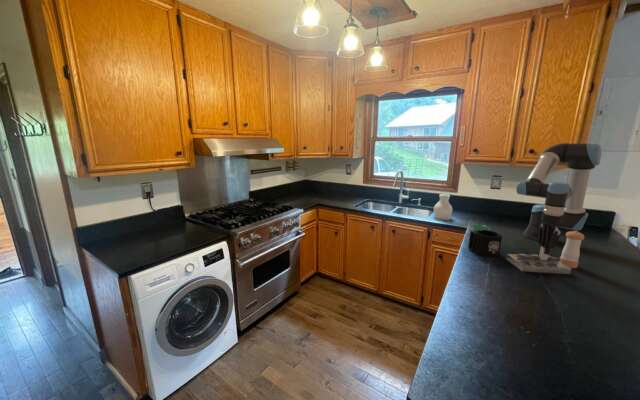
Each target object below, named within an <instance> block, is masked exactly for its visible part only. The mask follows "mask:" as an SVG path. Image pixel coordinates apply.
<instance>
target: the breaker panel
mask: <svg viewBox="0 0 640 400" xmlns="http://www.w3.org/2000/svg"><path fill="white" fill-rule="evenodd" d="M517 254H518V253H516V254H515V253H507V254H506V258H505V259H506V261H508V262H510V264H512V265H513V266H515V267H516V268H517V269H519V270H520V271H521V272H528V273H529V272H531V273H544V274H545V273H546V274H562V275H571V273H572V268H569V267H568V266H566V265H564V264H563V263H561V262H559V261H550V260H547V261H541V260H536V259H535V260H527V259H523V258H520V257H517Z"/></svg>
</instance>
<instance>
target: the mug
mask: <svg viewBox="0 0 640 400" xmlns="http://www.w3.org/2000/svg"><path fill="white" fill-rule="evenodd" d="M471 228H472V231H477V230H489V231H491V228H490V227H488V226H487V225H485V224H483V225H479V224H475V225H472V227H471Z"/></svg>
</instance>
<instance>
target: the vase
mask: <svg viewBox="0 0 640 400" xmlns="http://www.w3.org/2000/svg"><path fill="white" fill-rule="evenodd" d="M438 197H439V201H437V203H436V204H435V205H434V206H433V214H434V216H433V217H434V219H437V220H441V221H449V220H450V219H451V216H452V214H453V207H452V205H451V204H450V202H449V199H450V198H451V195H450V194H447V193H446V194H445V193H441V194H439V195H438Z"/></svg>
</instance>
